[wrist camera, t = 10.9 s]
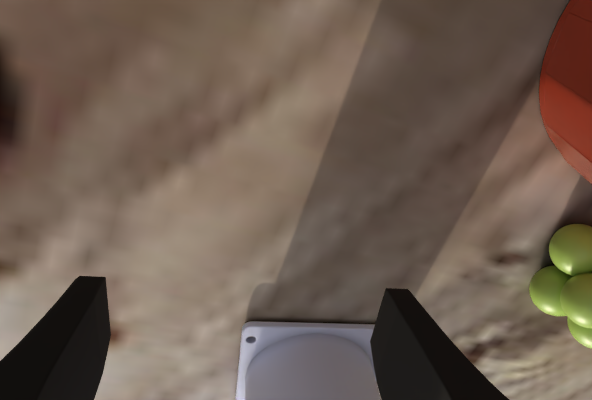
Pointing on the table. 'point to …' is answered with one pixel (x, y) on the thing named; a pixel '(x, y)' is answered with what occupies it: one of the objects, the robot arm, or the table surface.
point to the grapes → (568, 281)
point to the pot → (570, 86)
